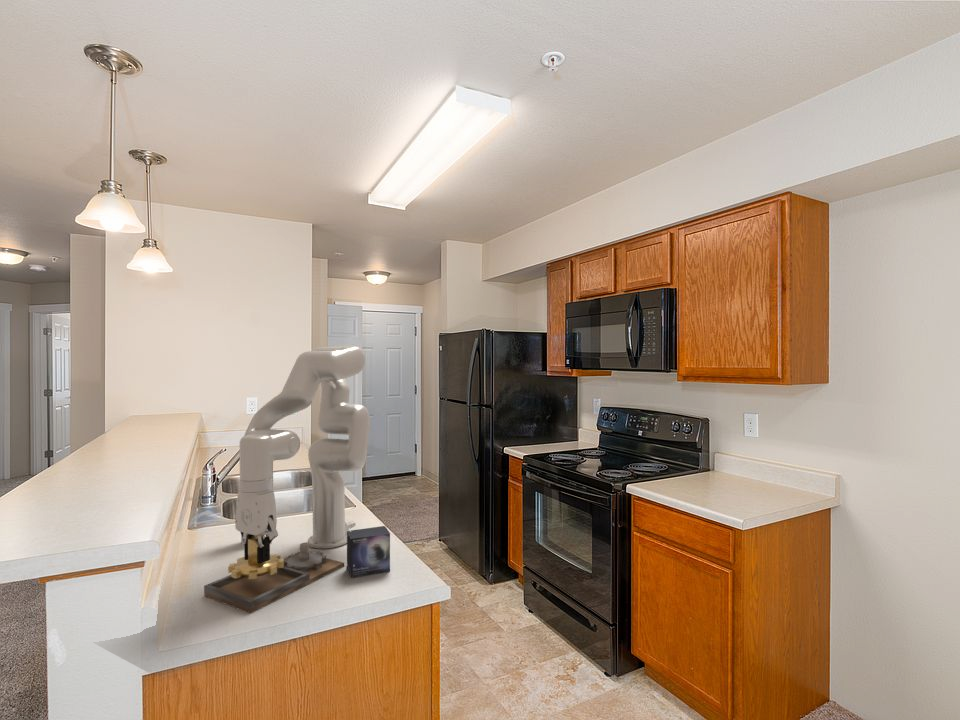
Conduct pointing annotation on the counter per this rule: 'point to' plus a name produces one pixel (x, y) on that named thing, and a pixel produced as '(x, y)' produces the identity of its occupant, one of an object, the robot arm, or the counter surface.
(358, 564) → the small box
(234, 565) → the gear
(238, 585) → the carrier plate
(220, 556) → the counter surface
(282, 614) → the counter surface
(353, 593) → the counter surface
